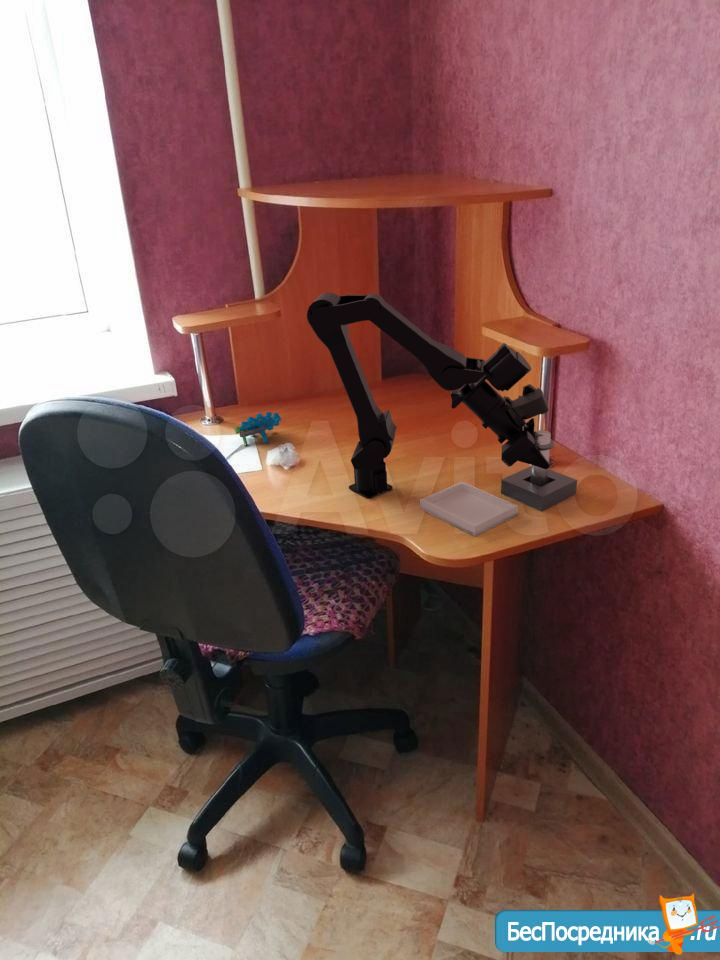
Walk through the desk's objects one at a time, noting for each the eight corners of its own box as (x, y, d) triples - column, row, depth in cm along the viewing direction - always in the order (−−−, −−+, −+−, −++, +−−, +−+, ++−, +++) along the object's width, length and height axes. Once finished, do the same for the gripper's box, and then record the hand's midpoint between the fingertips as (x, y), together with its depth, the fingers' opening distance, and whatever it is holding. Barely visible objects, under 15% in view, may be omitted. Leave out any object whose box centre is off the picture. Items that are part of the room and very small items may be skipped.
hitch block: (500, 493, 145) (501, 479, 144) (534, 477, 151) (535, 464, 149) (541, 511, 138) (542, 496, 137) (576, 494, 143) (577, 480, 142)
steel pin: (521, 493, 145) (524, 433, 139) (536, 486, 147) (540, 427, 142) (539, 501, 142) (543, 440, 136) (554, 493, 144) (559, 433, 138)
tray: (420, 508, 141) (420, 499, 140) (462, 490, 147) (462, 481, 146) (474, 536, 131) (474, 526, 130) (517, 515, 137) (517, 505, 136)
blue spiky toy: (280, 422, 181) (278, 405, 171) (287, 444, 179) (286, 428, 169) (236, 435, 179) (231, 418, 169) (242, 457, 177) (238, 441, 168)
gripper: (524, 394, 127) (586, 456, 129) (521, 361, 143) (577, 417, 146) (475, 437, 131) (537, 495, 134) (479, 400, 148) (533, 453, 151)
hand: (547, 462), depth 141 cm, fingers closed on steel pin, 4 cm apart
